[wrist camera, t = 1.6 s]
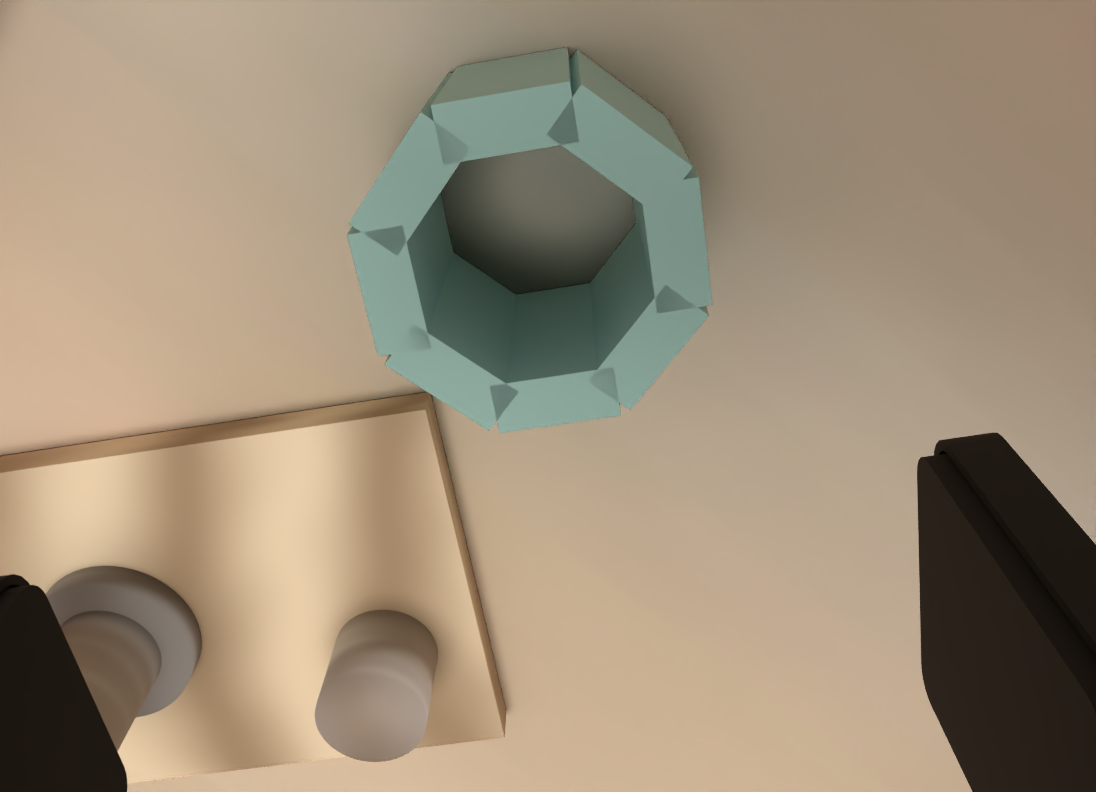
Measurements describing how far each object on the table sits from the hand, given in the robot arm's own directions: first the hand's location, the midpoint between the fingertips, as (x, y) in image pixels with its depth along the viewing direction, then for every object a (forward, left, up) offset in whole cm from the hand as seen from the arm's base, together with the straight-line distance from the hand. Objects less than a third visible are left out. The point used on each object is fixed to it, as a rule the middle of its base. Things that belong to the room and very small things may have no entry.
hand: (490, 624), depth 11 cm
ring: (0, 0, -18) cm, 18 cm away
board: (+12, +11, -18) cm, 24 cm away
